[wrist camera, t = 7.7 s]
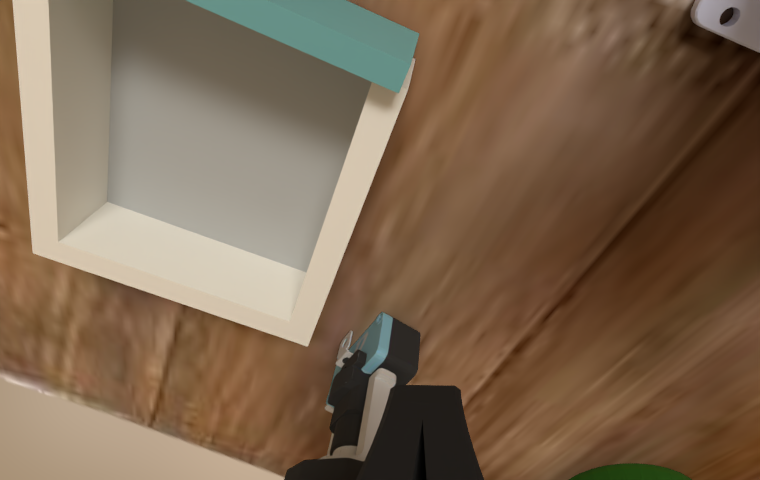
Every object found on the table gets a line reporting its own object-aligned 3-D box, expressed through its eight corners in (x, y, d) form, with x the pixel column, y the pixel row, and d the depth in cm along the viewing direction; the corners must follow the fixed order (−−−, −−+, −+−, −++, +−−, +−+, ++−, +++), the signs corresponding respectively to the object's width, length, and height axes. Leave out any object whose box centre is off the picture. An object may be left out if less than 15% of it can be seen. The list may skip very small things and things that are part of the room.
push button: (376, 408, 27) (344, 630, 18) (291, 365, 26) (214, 580, 17) (450, 339, 23) (450, 574, 15) (354, 286, 22) (296, 507, 14)
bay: (415, 59, 16) (408, 89, 13) (326, 291, 22) (307, 346, 19) (91, -72, 15) (7, -71, 12) (89, 207, 21) (32, 253, 18)
